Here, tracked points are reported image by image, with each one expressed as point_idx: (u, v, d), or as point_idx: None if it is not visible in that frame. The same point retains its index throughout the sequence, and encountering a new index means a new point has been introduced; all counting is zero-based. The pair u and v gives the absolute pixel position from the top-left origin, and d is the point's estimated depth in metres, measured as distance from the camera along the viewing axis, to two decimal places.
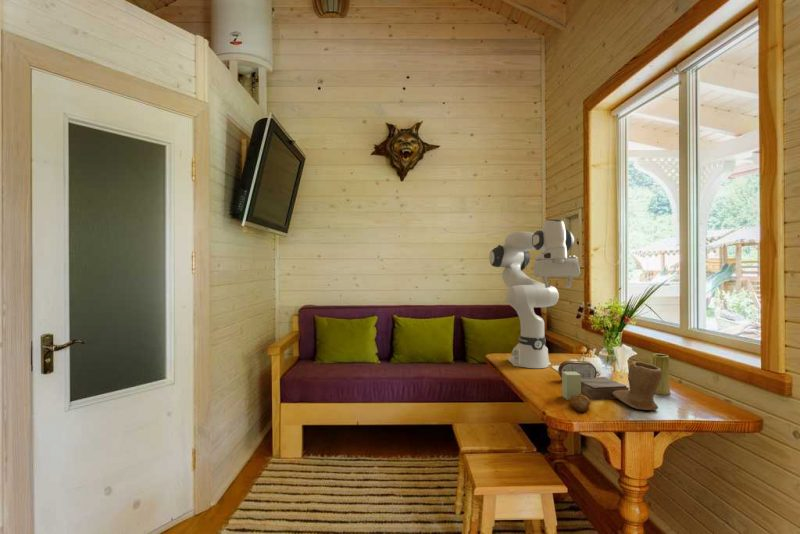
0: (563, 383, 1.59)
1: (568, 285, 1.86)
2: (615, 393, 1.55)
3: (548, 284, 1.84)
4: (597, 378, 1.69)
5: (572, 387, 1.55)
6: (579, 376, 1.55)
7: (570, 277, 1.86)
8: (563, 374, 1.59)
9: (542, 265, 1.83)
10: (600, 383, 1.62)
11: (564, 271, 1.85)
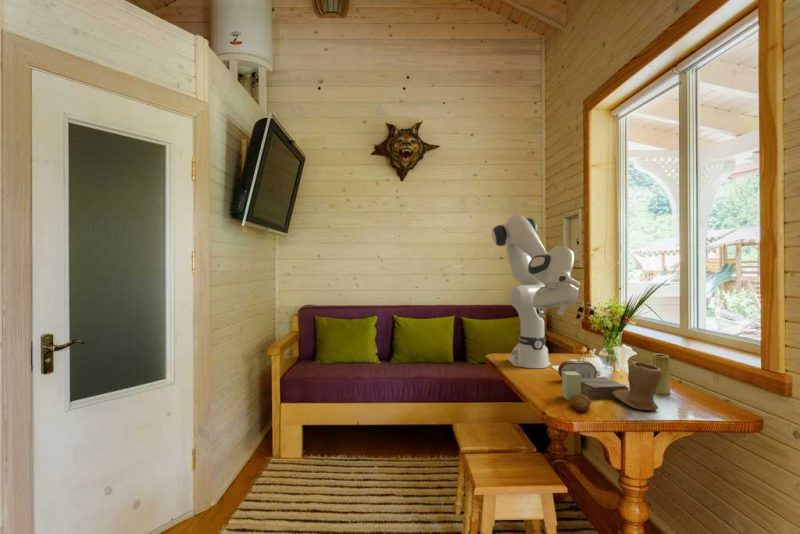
0: (563, 383, 1.59)
1: None
2: (615, 393, 1.55)
3: None
4: (597, 378, 1.69)
5: (572, 387, 1.55)
6: (579, 376, 1.55)
7: None
8: (563, 374, 1.59)
9: None
10: (600, 383, 1.62)
11: None
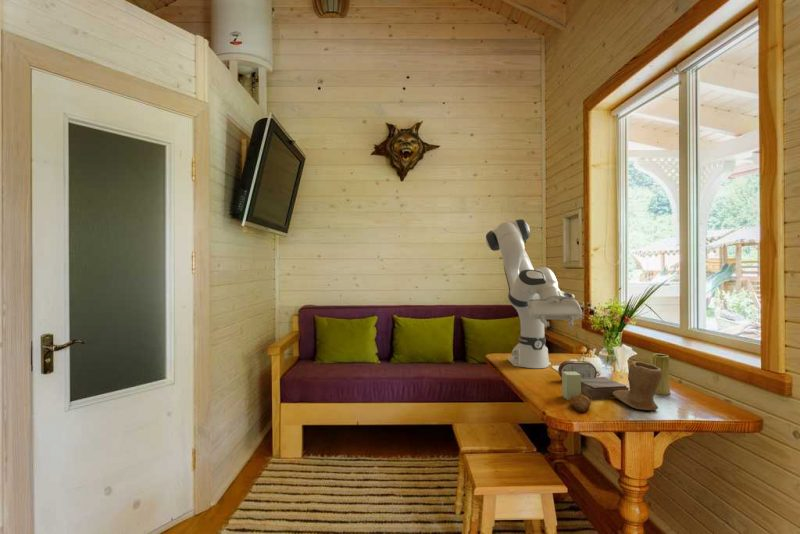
0: (563, 383, 1.59)
1: None
2: (615, 393, 1.55)
3: None
4: (597, 378, 1.69)
5: (572, 387, 1.55)
6: (579, 376, 1.55)
7: None
8: (563, 374, 1.59)
9: None
10: (600, 383, 1.62)
11: None
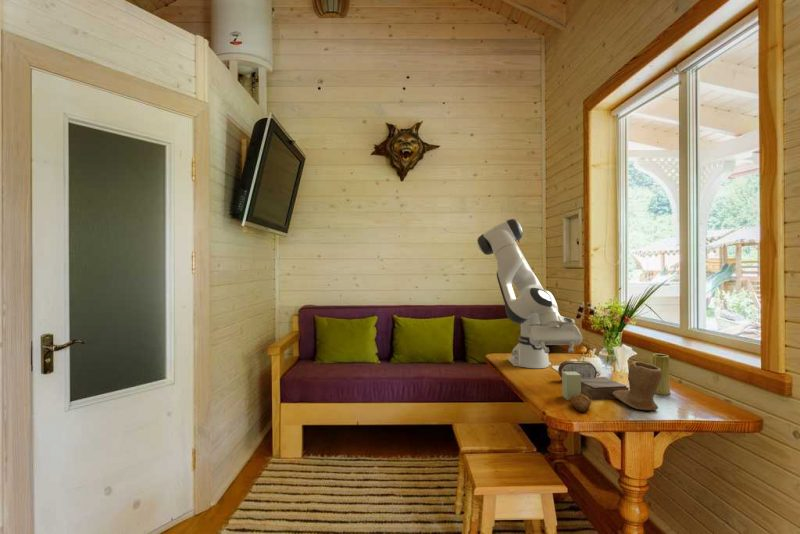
0: (563, 383, 1.59)
1: None
2: (615, 393, 1.55)
3: None
4: (597, 378, 1.69)
5: (572, 387, 1.55)
6: (579, 376, 1.55)
7: None
8: (563, 374, 1.59)
9: None
10: (600, 383, 1.62)
11: None
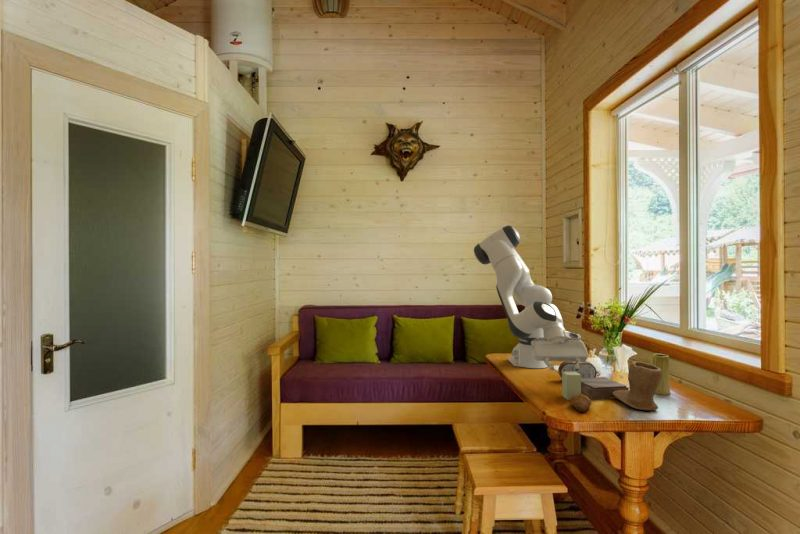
0: (563, 383, 1.59)
1: None
2: (615, 393, 1.55)
3: None
4: (597, 378, 1.69)
5: (572, 387, 1.55)
6: (579, 376, 1.55)
7: None
8: (563, 374, 1.59)
9: None
10: (600, 383, 1.62)
11: None
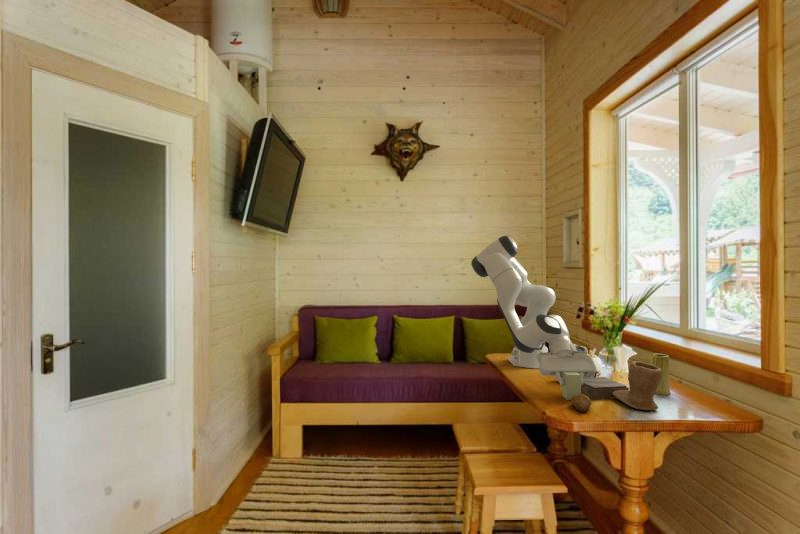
0: None
1: None
2: (615, 393, 1.55)
3: None
4: (597, 378, 1.69)
5: (572, 387, 1.55)
6: (579, 376, 1.55)
7: None
8: (563, 374, 1.59)
9: None
10: (600, 383, 1.62)
11: None
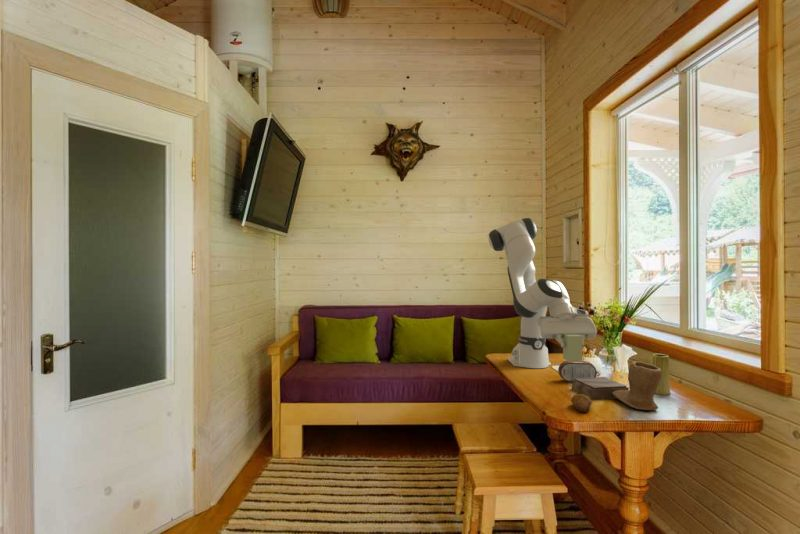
0: None
1: None
2: (615, 393, 1.55)
3: None
4: (597, 378, 1.69)
5: (574, 348, 1.55)
6: (580, 337, 1.55)
7: None
8: (564, 336, 1.59)
9: None
10: (600, 383, 1.62)
11: None
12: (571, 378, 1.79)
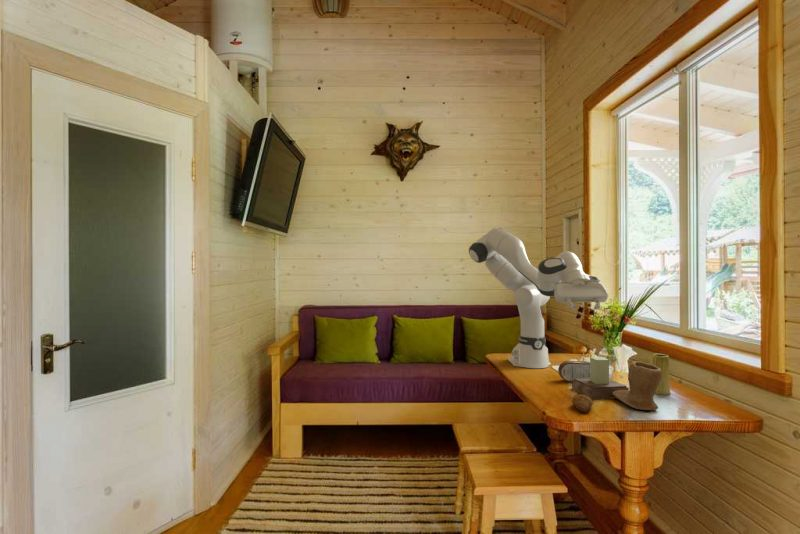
0: (591, 368, 1.65)
1: None
2: (615, 393, 1.55)
3: None
4: None
5: (601, 372, 1.61)
6: (607, 361, 1.61)
7: None
8: (591, 359, 1.65)
9: None
10: None
11: None
12: (571, 378, 1.79)
